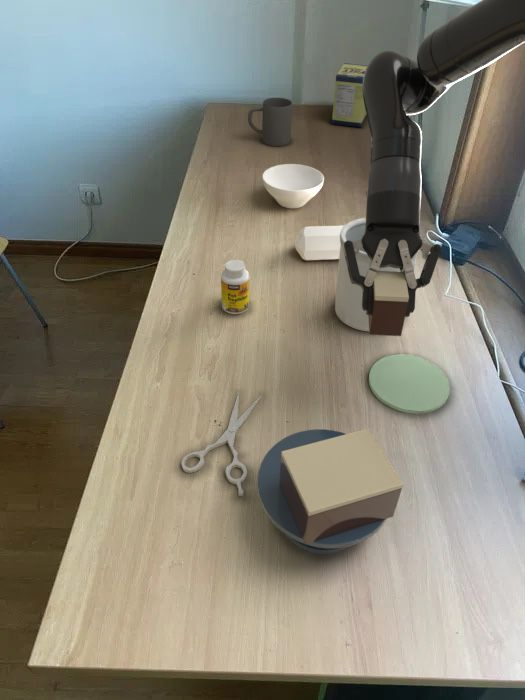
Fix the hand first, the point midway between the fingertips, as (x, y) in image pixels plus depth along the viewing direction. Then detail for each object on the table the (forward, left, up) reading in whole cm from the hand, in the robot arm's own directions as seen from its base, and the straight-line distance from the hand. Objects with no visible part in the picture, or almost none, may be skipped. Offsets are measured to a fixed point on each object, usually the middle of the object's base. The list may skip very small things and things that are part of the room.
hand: (387, 314), depth 80 cm
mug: (+13, -116, -21) cm, 119 cm away
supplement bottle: (+22, -29, -21) cm, 43 cm away
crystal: (-3, -50, -21) cm, 55 cm away
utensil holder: (-5, -28, -21) cm, 36 cm away
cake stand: (+9, +19, -21) cm, 30 cm away
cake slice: (0, -2, -3) cm, 3 cm away
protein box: (-15, -137, -21) cm, 139 cm away
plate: (-9, -7, -21) cm, 24 cm away
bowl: (+8, -75, -21) cm, 79 cm away
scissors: (+22, +5, -21) cm, 31 cm away
